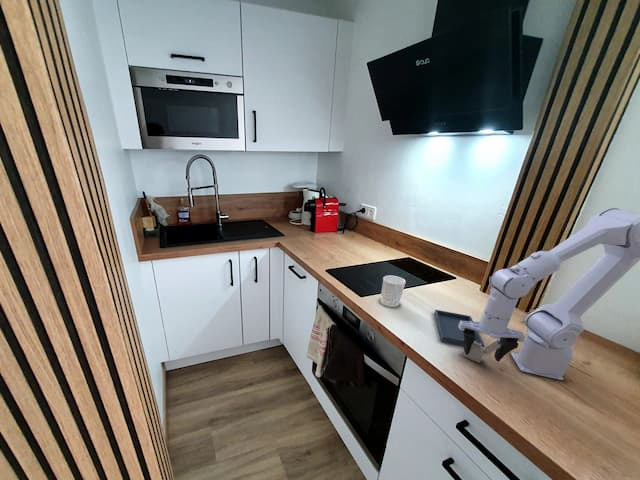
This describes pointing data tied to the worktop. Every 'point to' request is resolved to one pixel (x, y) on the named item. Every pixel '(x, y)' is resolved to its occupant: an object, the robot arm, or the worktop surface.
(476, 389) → the worktop surface
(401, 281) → the white cup
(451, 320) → the tray
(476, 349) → the lighter
